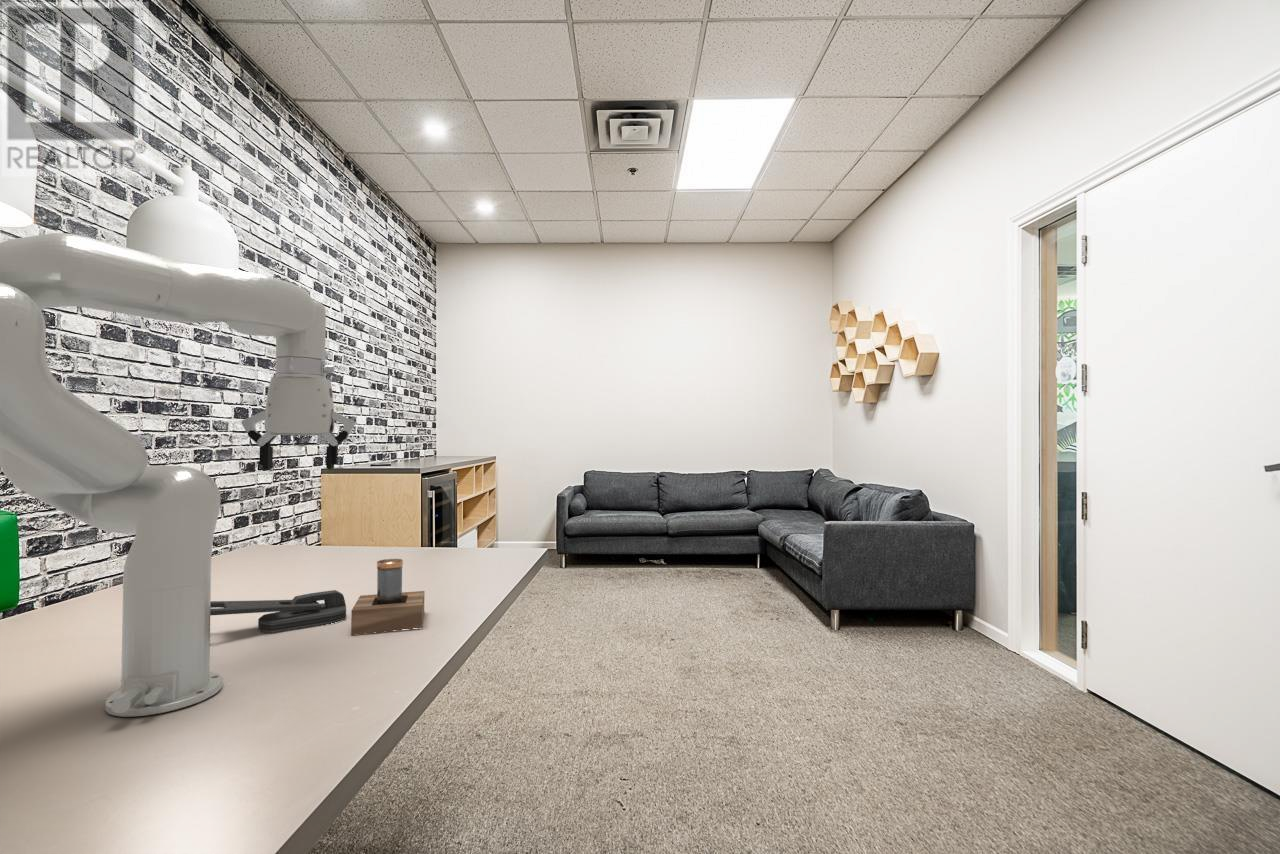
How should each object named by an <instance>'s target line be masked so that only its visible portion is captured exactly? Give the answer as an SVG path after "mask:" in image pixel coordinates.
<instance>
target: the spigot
mask: <svg viewBox="0 0 1280 854" xmlns="http://www.w3.org/2000/svg"><path fill="white" fill-rule="evenodd" d="M403 561H404V560H403V559H401V558H386V559H380V560H378V561H376V570H377V573H376V574H377V577H376V578H377V579H376V582H377V584H376V585H377V586H376V591H377V605H384V604H396V603H402V593H403V567H404V565H403V564H404V562H403Z"/></svg>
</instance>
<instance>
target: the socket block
mask: <svg viewBox="0 0 1280 854" xmlns="http://www.w3.org/2000/svg"><path fill="white" fill-rule="evenodd" d="M350 613H351V615H350V616H351V620H350V621H351V623H350V626H351V627H350V628H351V631H350V635H352V636H356V635H355V634H363V635H365V634H364V633H374V632H384V631H393V630H402V629H413V628H422V629H423V625H422V624H424V619H423V617H424V618H425V590H418V591H408V592H407V591H404V592H403V591H402V603H396V604H384V605H377V594H366V595H365V594H361V595H360V596H359V597H358V599H357V600H356V602H355V604H354V606H353V607H352V609H351V612H350ZM374 634H375V633H374Z"/></svg>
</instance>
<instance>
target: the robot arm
mask: <svg viewBox="0 0 1280 854" xmlns="http://www.w3.org/2000/svg"><path fill="white" fill-rule="evenodd" d="M61 307H78V308H86V309H91V310H98V311H102V312H103V311H104V312H110V313H117V314H124V315H130V316H137V317H142V318H147V319H152V320H157V321H164V322H172V323H186V324H187V323H188V324H192V323H193V324H194V323H195V324H199V323H200V324H201V323H202V324H203V323H225V324H226V326H228V327H229V328H231V329H232V330H233V331H235V332H237V333H239V334H243V335H246V336H256V337H257V336H258V337H259V336H261V337H273V338H274V339H275V373H274V374H275V376H271V378H270V381H269V385H268V389H267V394H266V401H265V402H266V403H265V408H264V410H262V411H260V412H259V413H256V414H254V415H251V416H249V417H247V418H244V419H243V420H241V425H242V428H243V429H244V430H245V432H246V434H247V436H248V437H249V438H250V440H252V441H254V443H256V445H257V446H259V466H262V470H263V471H270V470H272V469H273V468H274V467H273V465H274V464H273V463H274V461H273V460H274V447H273V445H271V444H272V442H273V441H274V440H276V438H278V436H322V438H324V439H325V440H326V442H328V445H327V446H326V468H325V469H327V470H334V469H335V465H338V462H339V446H340V444H342V443H343V442H344V441H345V440H346V439H347V438H349V436H350V434H351V432H352V430H353V429H354V427H355V426H356V422H355V421H354V420H352V419H350V418H348V417H346V416H344V415H343V414H340V413H337V412H335V407H334V404H335V403H334V395H333V388H332V382H331V380H330V379H329V378H326V377H327V375H328V374H330V373H331V374H332V373H335V365H334V364H330V363H329V364H328V363H327V361H326V336H327V335H326V330H327V328H326V326H327V324H326V323H327V319H326V318H327V317H326V316H327V315H326V314H327V313H326V312H327V311H326V307H325V306H324V305H323V303H322V302H320V301H317V300H316V299H313V298H312V297H311V295H310V294H309V293H308V292H307V291H306V290H305V289H304V288H303V287H300V286H299V285H298V284H296V283H295V284H294V283H292V282H290V281H289V282H288V281H286V280H282V279H279V278H275V277H272V276H266V275H264V274H260V273H259V274H258V273H255V272H251V271H250V272H249V271H244V270H235V269H229V268H223V267H218V266H217V267H216V266H211V265H206V264H200V263H192V262H185V261H179V260H175V259H171V258H168V257H164V256H160V255H156V254H152V253H148V252H144V251H141V250H136V249H133V248H129V247H126V246H122V245H119V244H114V243H110V242H107V241H103V240H99V239H95V238H92V237H88V236H83V235H79V234H73V233H68V232H67V233H63V232H54V233H45V234H39V235H32V236H24V237H18V238H13V239H8V240H4V241H1V242H0V468H1V471H2V472H3V474H4V476H5V477H6V478H7V479H8V481H9V482H10V483H11V484H12V485H13V486H15V487H16V488H17V489H19V490H20V491H22V492H23V493H25V494H27V495H28V496H31V497H33V498H35V499H37V500H38V501H40V502H42V503H45V504H46V505H47V506H48V505H49V506H51V507H52V508H54V509H56V510H59V511H60V512H62V513H64V514H66V515H68V516H70V517H72V518H74V519H76V520H78V521H80V522H82V523H84V524H86V525H89V526H91V527H94V528H96V529H98V530H101V531H105V532H108V533H109V532H110V533H116V534H130V535H135V536H134V539H133V541H132V544H131V546H130V549H129V551H128V553H127V555H126V558H125V562H124V566H123V572H122V626H121V627H122V631H121V632H122V633H121V674H120V675H121V677H120V678H121V680H120V681H121V683H120V684H121V685H120V687H121V688H120V689H119V690H117V691H115V692H113V693H112V694H111V695H109V696H108V697H107V698H106V699H105V703H104V704H105V705H104V709H105V710H104V711H105V712H106V713H107V714H109V715H112V716H115V717H122V718H124V717H125V718H126V717H129V718H130V717H131V718H133V717H143V716H144V717H145V716H151V715H152V716H153V715H157V714H163V713H167V712H168V713H169V712H172V711H176V710H179V709H182V708H183V709H184V708H186V707H190V706H193V705H195V704H197V703H200V702H202V701H205V700H207V699H209V698H211V697H212V696H214V695H216V694H217V693H219V691H220V690H221V689H222V688H223V685H224V678H223V676H222V674H219V673H217V672H212V671H210V668H211V667H210V665H211V664H210V663H211V662H210V661H211V659H210V658H211V653H210V652H211V615H210V606H211V601H212V600H211V598H212V597H211V596H212V595H211V593H212V591H211V590H212V589H211V588H212V552H213V543H214V536H215V535H214V534H215V530H216V526H217V522H218V518H219V514H220V510H221V492H220V489H219V487H218V485H217V483H216V482H215V480H214V479H213V478H212V477H211V476H210V475H208V474H207V473H205V472H204V471H202V470H199V469H196V468H192V467H189V466H184V465H183V466H182V465H148V464H149V457H148V452H147V450H146V447H145V446H144V444H143V442H141V440H140V439H139V438H138V437H137V436H136V435H135V434H133V433H132V432H131V431H130V430H128V429H127V428H125V427H123V426H122V425H121V424H119V423H117V422H116V421H114V420H113V419H111V418H110V417H108V416H106V414H103V413H102V412H101V411H99V410H97V409H96V408H95V407H94V406H92V405H90V404H88V403H87V402H85V401H84V400H83V399H81V398H80V397H78V396H77V395H75V394H74V393H73V392H71V391H70V389H68V388H66V387H65V386H64V385H63V384H61V382H59V381H58V380H57V379H56V377H55V376H54V375H53V374H52V372H51V370H50V368H49V365H48V362H47V357H46V338H47V328H46V327H47V325H46V320H45V317H44V314H43V312H42V311H43V310H45V309H47V308H49V309H50V308H51V309H52V308H61ZM263 421H264V430H265V432H264V433H263V434H261V433H260V432H259V431H258V430H257V428H256V427H255V425H256V424H259V423H260V422H263ZM335 421H336V422H338V423H340V424H342V425H343V428H342V430H341V431H340V432H339V433H338V434H337V435H335V434H334V431H335Z"/></svg>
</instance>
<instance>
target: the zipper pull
mask: <svg viewBox="0 0 1280 854" xmlns="http://www.w3.org/2000/svg"><path fill="white" fill-rule="evenodd" d="M319 601H324V602H323V603H319ZM346 604H347V603H346V600H345V597H344V594H343V593H342V592H340V591H338V590H336V589H331V590H324V591H317V592H312V593H305V594H300V595H296V596H294V597H293V598H292V599H273V600H272V599H268V600H265V599H264V600H214V601H212V600H211V606H210V616H222V615H223V616H224V615H239V614H241V615H243V614H257V613H258V614H259V613H265V614H263V615H262V616H260V617H259V618H258V622H257V629H258V632H259V633H261V634H271V635H273V634H280V633H286V632H293V631H298V630H305V629H312V628H317V627H321V626H322V625H323V626H327V625H326V624H329V625H332V624H331V623H334V624H336V623H335V622H338V621H341V620H344V619H347V605H346ZM344 621H345V620H344ZM341 622H342V621H341ZM338 623H339V622H338Z"/></svg>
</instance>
